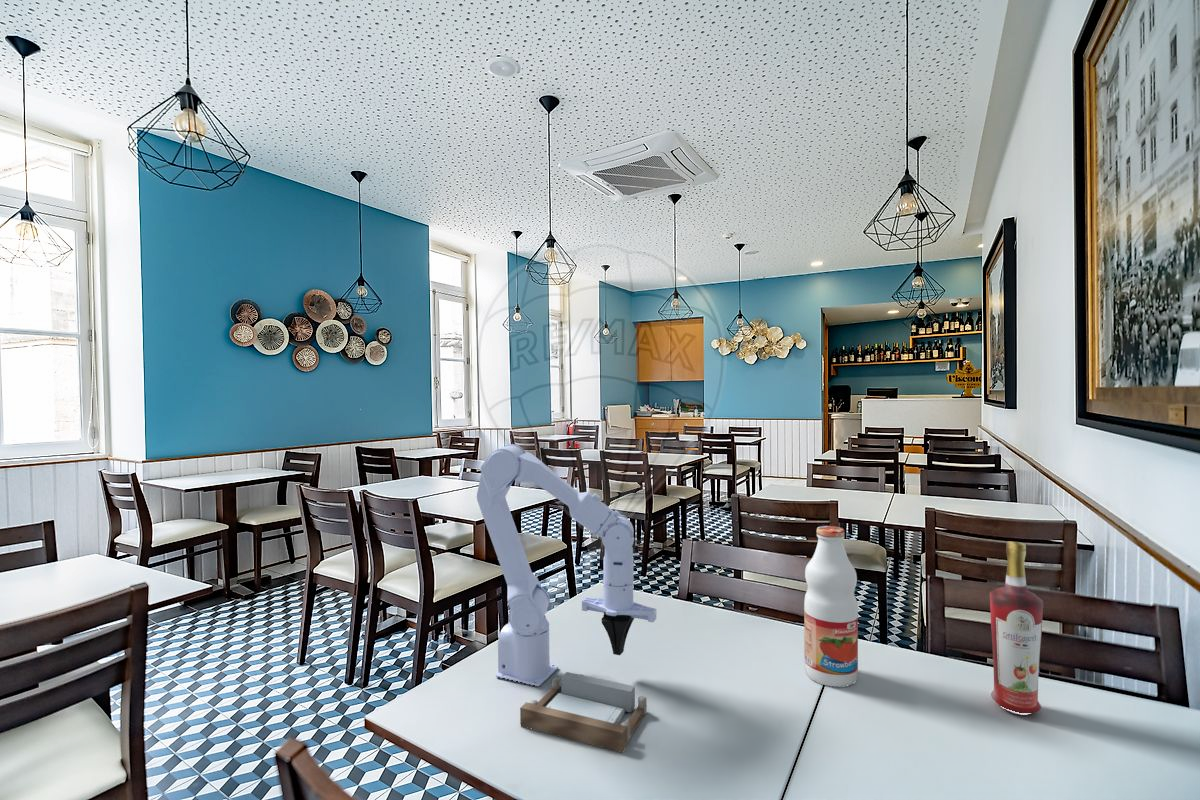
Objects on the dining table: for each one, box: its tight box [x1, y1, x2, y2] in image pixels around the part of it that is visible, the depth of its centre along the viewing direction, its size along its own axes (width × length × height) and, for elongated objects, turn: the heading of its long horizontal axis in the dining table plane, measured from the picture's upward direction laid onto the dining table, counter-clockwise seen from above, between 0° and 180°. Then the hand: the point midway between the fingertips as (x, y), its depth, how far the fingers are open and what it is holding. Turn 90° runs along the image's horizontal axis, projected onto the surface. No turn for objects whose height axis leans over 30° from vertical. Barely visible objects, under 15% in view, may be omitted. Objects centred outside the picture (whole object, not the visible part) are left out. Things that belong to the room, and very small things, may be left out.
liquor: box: [989, 540, 1044, 714], centre depth 96 cm, size 7×7×28 cm
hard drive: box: [546, 693, 626, 724], centre depth 95 cm, size 2×8×12 cm
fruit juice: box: [803, 525, 859, 688], centre depth 108 cm, size 9×9×28 cm
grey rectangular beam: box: [561, 671, 636, 713], centre depth 99 cm, size 13×2×4 cm, turn 67°
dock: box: [519, 677, 648, 753], centre depth 95 cm, size 18×12×3 cm, turn 67°
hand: (618, 652), depth 109 cm, fingers closed
